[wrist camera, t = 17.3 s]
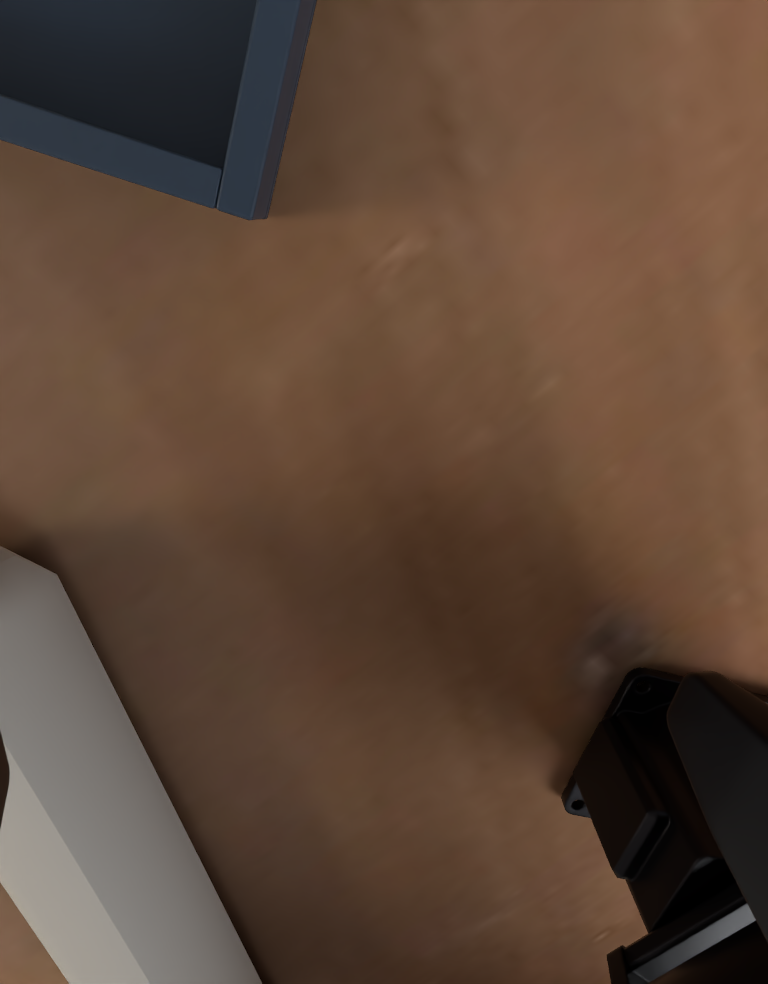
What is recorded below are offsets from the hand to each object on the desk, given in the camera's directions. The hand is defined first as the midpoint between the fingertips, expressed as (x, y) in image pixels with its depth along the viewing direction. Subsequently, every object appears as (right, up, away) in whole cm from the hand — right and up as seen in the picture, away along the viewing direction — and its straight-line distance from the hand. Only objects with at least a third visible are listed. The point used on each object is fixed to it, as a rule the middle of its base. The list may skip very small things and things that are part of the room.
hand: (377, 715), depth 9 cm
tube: (-9, -9, +16) cm, 20 cm away
